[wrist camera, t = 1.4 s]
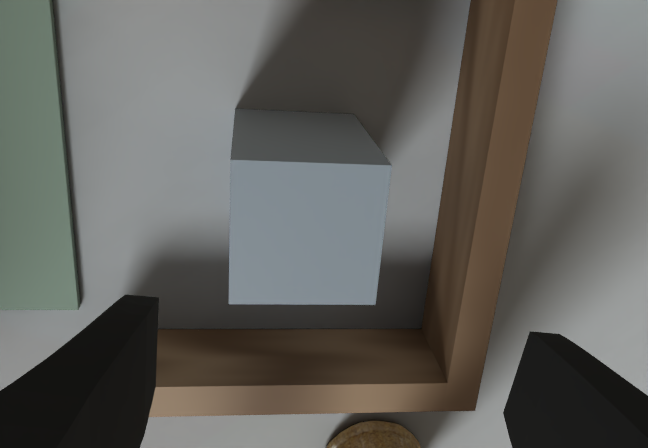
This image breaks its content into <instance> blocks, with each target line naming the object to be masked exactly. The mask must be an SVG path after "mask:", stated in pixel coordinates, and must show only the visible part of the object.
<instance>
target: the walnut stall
mask: <svg viewBox="0 0 648 448" xmlns="http://www.w3.org/2000/svg"><path fill="white" fill-rule="evenodd" d="M556 5H557V0H471V3H470V9H469V16H468V23H467V29H466V36H465V42H464V49H463V56H462V62H461V69H460V76H459V82H458V89H457V95H456V102H455V109H454V115H453V122H452V129H451V135H450V142H449V149H448V155H447V162H446V168H445V175H444V182H443V188H442V195H441V202H440V208H439V215H438V222H437V228H436V235H435V241H434V248H433V255H432V261H431V268H430V275H429V281H428V288H427V295H426V301H425V308H424V314H423V321H422V328H421V329H158V335H157V367H156V388H155V392H154V396H153V401H152V405H151V409H150V414H149V417H170V416H221V415H273V414H324V413H375V412H427V411H475V408H476V403H477V398H478V393H479V388H480V383H481V378H482V373H483V368H484V363H485V358H486V353H487V348H488V343H489V338H490V333H491V328H492V323H493V319H494V314H495V309H496V304H497V299H498V294H499V289H500V284H501V279H502V274H503V269H504V264H505V259H506V254H507V249H508V244H509V239H510V234H511V229H512V224H513V219H514V214H515V209H516V204H517V199H518V194H519V189H520V184H521V179H522V174H523V169H524V164H525V159H526V154H527V149H528V144H529V139H530V134H531V129H532V124H533V119H534V114H535V109H536V105H537V100H538V95H539V90H540V85H541V80H542V75H543V70H544V65H545V60H546V55H547V50H548V45H549V40H550V35H551V30H552V25H553V20H554V15H555V10H556Z"/></svg>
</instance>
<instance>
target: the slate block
mask: <svg viewBox="0 0 648 448" xmlns="http://www.w3.org/2000/svg"><path fill="white" fill-rule="evenodd" d="M391 168H392V165H391V164H390V162H389V161H388V160H387V158H386V157H385V156H384V154H383V153H382V152H381V150H380V149H379V147H378V146H377V145H376V143H375V142H374V141H373V139H372V138H371V137H370V135H369V134H368V133H367V131H366V130H365V129H364V127H363V126H362V125H361V123H360V122H359V120H358V119H357V118H356V116H355V115H354V114H342V113H320V112H299V111H278V110H256V109H235V117H234V128H233V139H232V149H231V163H230V239H229V304H283V305H376V296H377V288H378V279H379V271H380V262H381V254H382V245H383V237H384V228H385V219H386V211H387V202H388V194H389V185H390V177H391Z"/></svg>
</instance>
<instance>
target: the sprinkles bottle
mask: <svg viewBox="0 0 648 448" xmlns="http://www.w3.org/2000/svg"><path fill="white" fill-rule="evenodd" d="M327 448H421V447H420V444H419V442H418V441H417V440H416V438H415V437H414V435H413V434H411V433H410V432H409V431H408V430H407V429H405V428H404V427H402V426H401V425H399V424H396V423H390V422H385V421H367V422H360V423H358V424H355V425H353V426H351V427H349V428H347V429H346V430H344V431H342V432H340V433H339V434H338V435H337V436H336V437H335V438H334V439H333V440H332V441H331V442H330V443H329V444H328V446H327Z"/></svg>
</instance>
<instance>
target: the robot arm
mask: <svg viewBox="0 0 648 448" xmlns="http://www.w3.org/2000/svg"><path fill="white" fill-rule="evenodd" d="M158 304H159V298H156V297H145V296H134V295H124V296H123V297H122V298H120V299H119V300H118V301H116V302H115V303H114V304H113V305H112V306H110V307H109V308H108V309H107V310H106V311H105V312H103V313H102V314H101V315H100V316H99V317H98V318H96V319H95V320H94V321H93V322H92V323H90V324H89V325H88V326H87V327H86V328H85V329H83V330H82V331H81V332H80V333H78V334H77V335H76V336H75V337H73V338H72V339H71V340H70V341H68V342H67V343H66V344H65V345H63V346H62V347H61V348H60V349H58V350H57V351H56V352H55V353H53V354H52V355H51V356H49V357H48V358H47V359H45V360H44V361H43V362H41V363H40V364H38V365H37V366H36V367H34V368H33V369H31V370H30V371H28V372H27V373H26V374H24V375H23V376H21V377H20V378H19V379H17V380H16V381H14V382H13V383H11V384H10V385H8V386H7V387H5V388H4V389H2V390H1V391H0V448H140V445H141V442H142V440H143V437H144V434H145V430H146V426H147V422H148V418H149V414H150V409H151V405H152V401H153V396H154V392H155V388H156V367H157V335H158ZM503 414H504V418H505V422H506V425H507V429H508V433H509V437H510V441H511V444H512V448H648V396H647V395H646V394H644V393H643V392H642V391H640V390H639V389H638V388H636V387H635V386H633V385H632V384H631V383H629V382H628V381H626V380H625V379H624V378H622V377H621V376H620V375H618V374H617V373H616V372H614V371H613V370H611V369H610V368H609V367H607V366H606V365H605V364H603V363H602V362H600V361H599V360H598V359H596V358H595V357H593V356H592V355H591V354H589V353H588V352H586V351H585V350H584V349H582V348H581V347H579V346H578V345H576V344H575V343H573V342H572V341H570V340H568V339H567V338H565V337H563V336H562V335H560V334H552V333H541V332H530V333H529V336H528V339H527V342H526V345H525V348H524V351H523V354H522V357H521V360H520V363H519V366H518V369H517V373H516V376H515V379H514V382H513V385H512V388H511V391H510V394H509V397H508V400H507V403H506V406H505V409H504V412H503Z"/></svg>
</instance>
